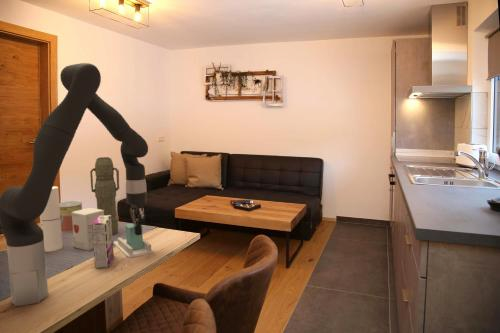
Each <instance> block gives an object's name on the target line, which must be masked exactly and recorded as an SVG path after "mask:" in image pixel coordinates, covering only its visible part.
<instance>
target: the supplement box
mask: <svg viewBox="0 0 500 333" xmlns="http://www.w3.org/2000/svg"><path fill="white" fill-rule="evenodd" d="M101 215H102V216H103V215H104V210H100V209H97V208H94V207H86V208H82V210H78V211H74V212H72V225H73V231H72V237H73V248H77V249H80V250H83V251H91V250H94V245H93V232H92V224H93V222H94V221H95V220H96V218H97V217H98V216H101Z"/></svg>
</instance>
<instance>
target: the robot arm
mask: <svg viewBox="0 0 500 333" xmlns="http://www.w3.org/2000/svg"><path fill="white" fill-rule="evenodd" d="M59 76H60V82H61V84H62V85H63V88H65V90H67V93H66V95H65V97H64V98H63V100H62V101H61V102H60V103H59V104H58V105H57V106H56V107H55V108H54V109H53V110H52V111H51V112H50V113H49V114H48V115H47V117H46V118H45V119H44V121H43V122H42V124H41V126H40V128H39V130H38V133H37V134H36V137H35V139H34V141H33V149H32V152H33V153H32V154H33V156H32V159H33V160H32V161H33V162H32V167H31V171H30V173H29V174H28V176H27V179H26V181H25V183H24V184H23V185H14V186H13V185H12V186H10V187H8V188H6V189H5V190H4V191H3V192H2V193H1V195H0V225H1V231H2V234H3V236H4V238H5V243H6V252H7V262H8V263H7V264H8V275H9V284H10V285H9V286H10V294H11V296H10V297H11V303H12V304H14V307H19V306H20V307H21V306H26V305H34V304H38V303H39V304H40V302H41V301H42V300H45V299H46V298H47V297H48V295H49V287H48V286H49V285H48V276H47V275H48V273H47V263H46V261H47V260H46V251H45V247H44V235H43V230H42V229H41V226H40V225H39V224H38V223H37V221H36V220H37V219H38V218H40V215H41V214H42V213H43V212H44V210H45V208H46V206H47V203H48V200H49V197H50V194H51V190H52V187H53V186H54V183H55V181H56V178H57V175H58V173H59V171H60V169H61V167H62V163H63V161H64V159H65V157H66V154H67V153H68V151H69V149H70V147H71V144H72V143H73V140H74V138H75V135H76V132H77V130H78V128H79V126H80V124H81V122H82V119H83V117H84V115H85V112H86V110H88V111H90V113H91V114H93V116H94V117H96V118H97V120H98V121H99V122H100V123H101V124H102V125H103V126H104V128H105V129H106V130H107V132H109V134H110V135H111V136H112V138H113V139H114V140H116V141H118V142H121V144H120V154H121V159H122V162H123V165H124V168H125V196H126V198H125V199H126V204H127V205H130V208H129V210H128V211H129V215H130V219H131V222H132V224H134V225H135V234H136V235H141V234H142V235H143V228H142V229H141V226H143V225H144V224H145V220H146V217H147V214H146V213H145V210H144V207H143V205H144V204H146V203H147V201H148V197H147V196H148V193H147V182H146V180H147V179H146V169H145V165H144V164H143V163H140V162H139V158H140V159H141V158H144V157H145V156H147V154H149V145H148V142H147V141H146V139H145V138H144V137H142V135H140V134H139V133H138V132H137V131H136V130H134V129H133V128H132V127H131V126H130V125H129V123H128V122H127V120H126V119H125V117H123V115H122V114H121V113H120V112H119V111H118V110H117V109H116V108H114V107H113V106H111V105H110V104H109V103H108V102H107V101H105V100H104V99H103V98H101V96H99V94H97V92H98V90H99V88H100V85H101V82H102V81H101V80H102V77H101V72H100V70H99V68H98V67H97V66H96V65H94V63H93V64H92V63H89V62H88V63H87V62H86V63H85V62H83V63H82V62H81V63H75V64H69V65H66V66H65V67H63V68H62V70H61V72H60V75H59Z"/></svg>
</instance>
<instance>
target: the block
mask: <svg viewBox="0 0 500 333" xmlns="http://www.w3.org/2000/svg"><path fill="white" fill-rule="evenodd" d="M141 229H142V230H143V225H141ZM125 239H126V243H127V244H128V245H129V246H131V247H132V248H133V250H135V249H139V248H143V239H144V237H143V233H142V234H141V235H136V234H135V225H134V224H133V223H131V224H130V223H129V224H125Z"/></svg>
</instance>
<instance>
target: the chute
mask: <svg viewBox="0 0 500 333" xmlns="http://www.w3.org/2000/svg"><path fill="white" fill-rule="evenodd" d="M113 246H115V247H116V248H117V249H118V250H119V251H120V252H121V253H122V254H123V255H124V256H125V258H127V259H131V258H136V257H139V256H141V257H142V256H144V255H150V254H153V253H154V252H155V251H154V250H153V249H152V244H151V243H150V242H148V241H147V240H146V239H145V238H143V248H139V249H135V250H133V248H132V247H131V246H129V245H128V244H127V243H126V238H124V239H123V238H122V237H117V240H116V241H113Z"/></svg>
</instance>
